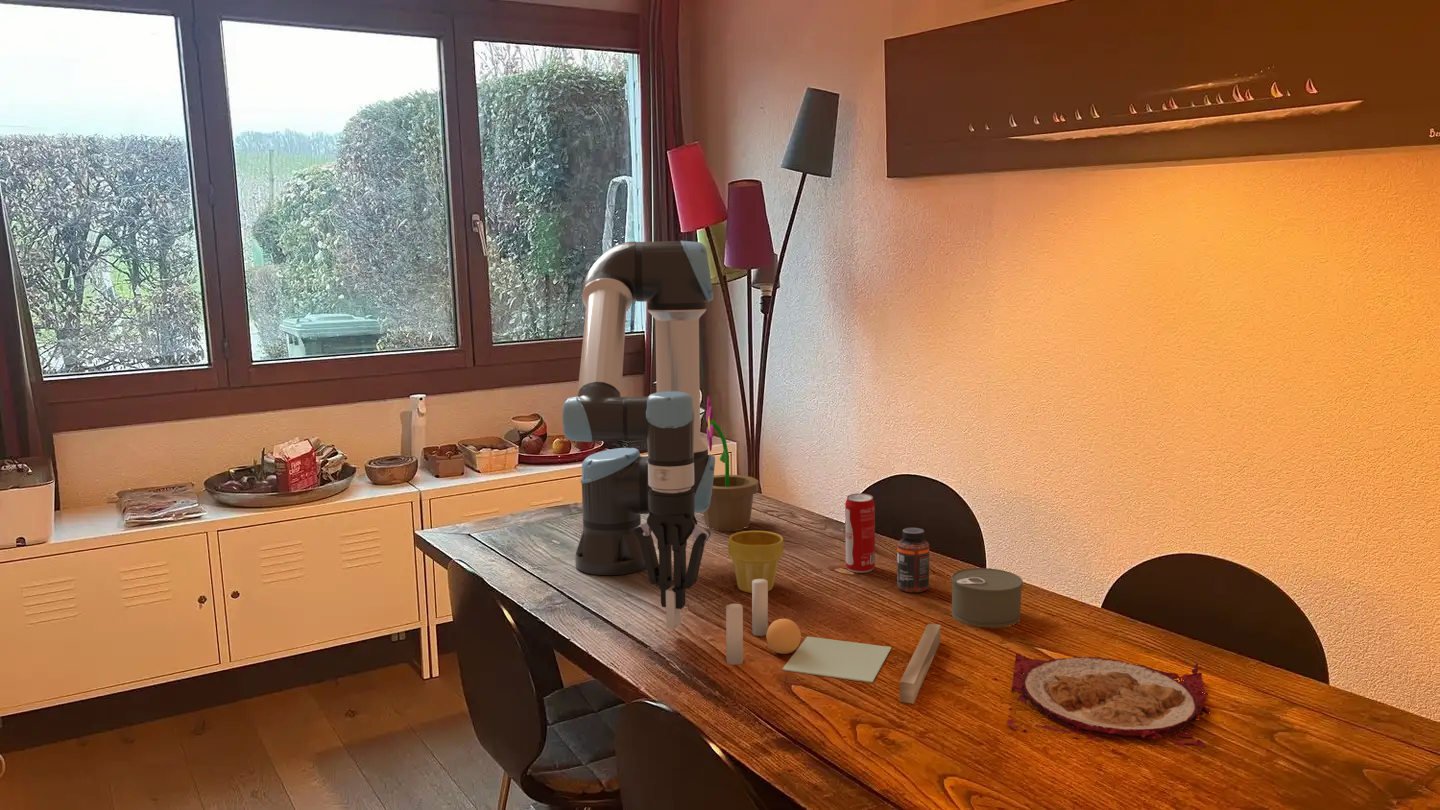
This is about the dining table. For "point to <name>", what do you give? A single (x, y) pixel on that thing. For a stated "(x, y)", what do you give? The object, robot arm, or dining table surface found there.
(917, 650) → the wall
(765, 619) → the post
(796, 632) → the ball
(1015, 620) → the can
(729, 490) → the flowerpot
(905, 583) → the supplement bottle
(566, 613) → the dining table surface
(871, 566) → the beverage can
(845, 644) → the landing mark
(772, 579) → the plant pot
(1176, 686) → the plate with food
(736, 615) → the post
